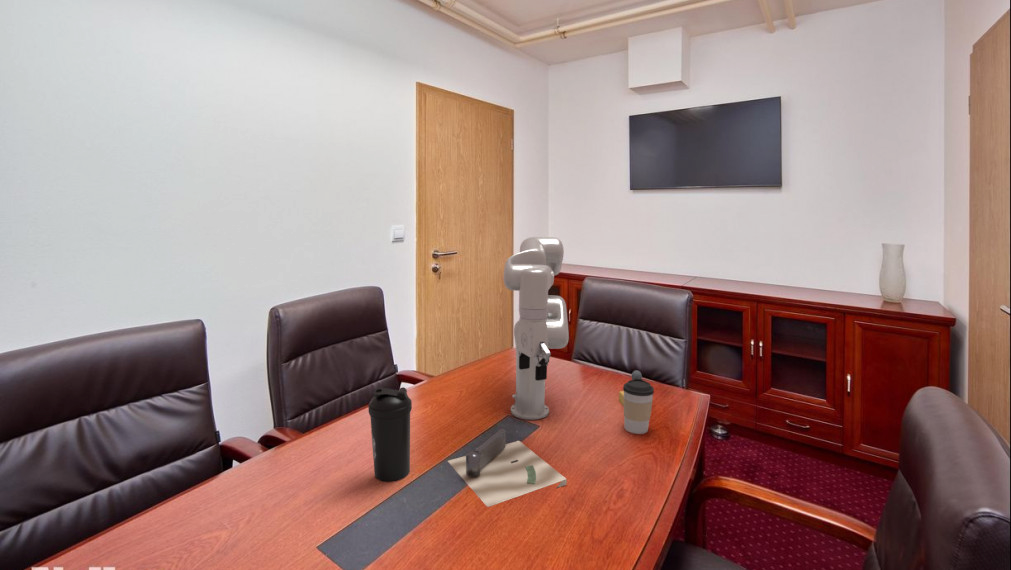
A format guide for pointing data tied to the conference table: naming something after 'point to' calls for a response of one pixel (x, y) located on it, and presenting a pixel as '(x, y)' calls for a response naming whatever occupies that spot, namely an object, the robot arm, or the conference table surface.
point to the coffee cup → (637, 405)
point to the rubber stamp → (635, 375)
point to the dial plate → (509, 474)
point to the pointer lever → (485, 453)
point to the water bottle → (390, 433)
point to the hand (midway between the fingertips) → (532, 374)
